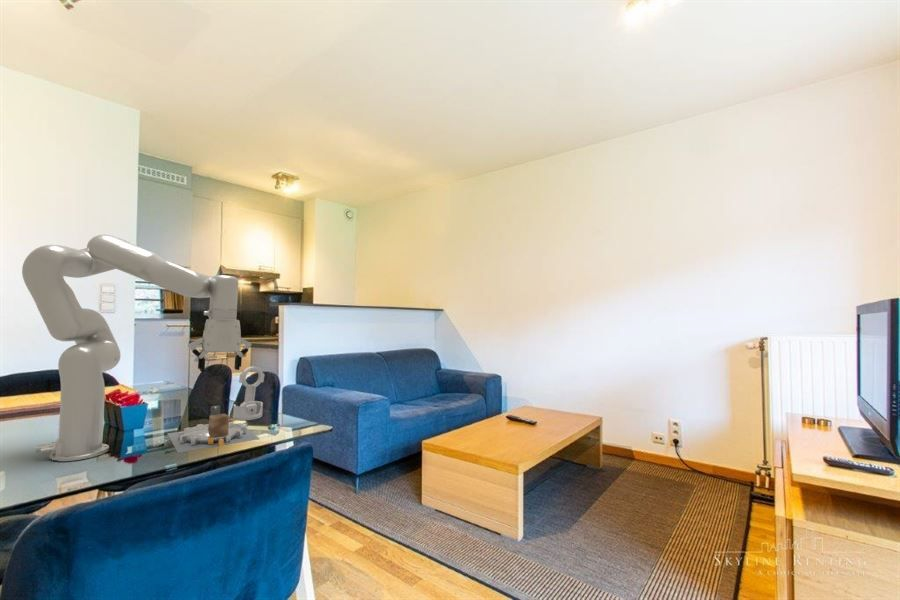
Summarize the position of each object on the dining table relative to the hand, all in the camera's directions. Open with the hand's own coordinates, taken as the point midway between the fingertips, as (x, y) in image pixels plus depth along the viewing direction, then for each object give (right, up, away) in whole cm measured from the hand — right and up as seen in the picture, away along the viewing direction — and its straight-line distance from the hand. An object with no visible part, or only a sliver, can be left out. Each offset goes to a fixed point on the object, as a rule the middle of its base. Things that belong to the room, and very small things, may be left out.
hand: (219, 370), depth 129 cm
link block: (0, -20, -1) cm, 20 cm away
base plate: (-5, -23, +5) cm, 24 cm away
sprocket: (-5, -22, +5) cm, 23 cm away
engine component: (-6, -25, +30) cm, 39 cm away
